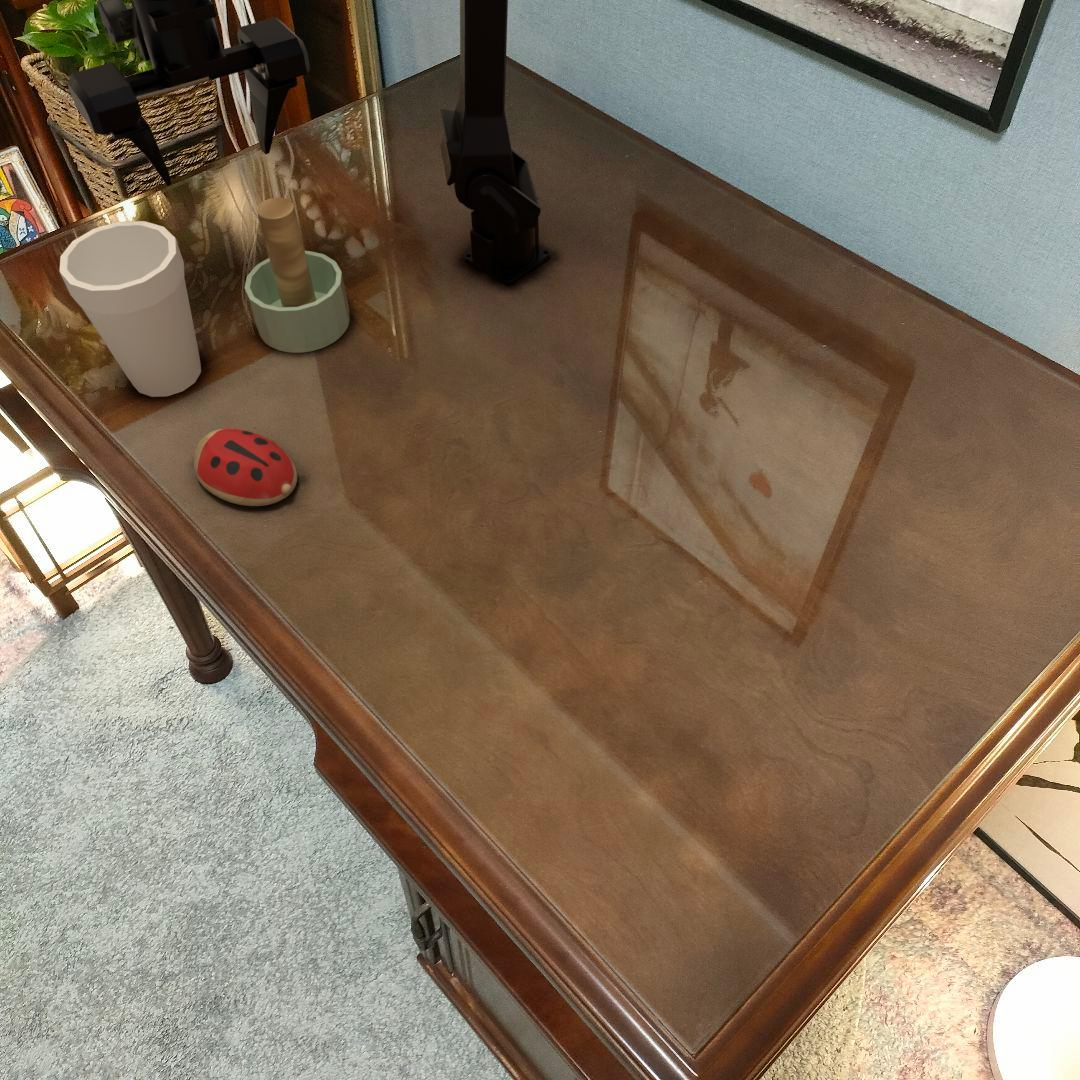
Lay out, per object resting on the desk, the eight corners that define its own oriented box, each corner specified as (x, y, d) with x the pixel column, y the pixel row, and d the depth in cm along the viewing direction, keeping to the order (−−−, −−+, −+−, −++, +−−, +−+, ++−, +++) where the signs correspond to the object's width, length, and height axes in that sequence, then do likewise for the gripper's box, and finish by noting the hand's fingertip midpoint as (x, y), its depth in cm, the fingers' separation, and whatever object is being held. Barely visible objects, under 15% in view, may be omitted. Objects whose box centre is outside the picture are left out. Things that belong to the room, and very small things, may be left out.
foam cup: (192, 415, 90) (145, 297, 80) (96, 402, 92) (38, 284, 81) (233, 345, 96) (194, 226, 86) (142, 333, 97) (93, 215, 87)
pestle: (322, 306, 99) (296, 197, 89) (316, 328, 97) (290, 218, 87) (289, 306, 99) (260, 197, 89) (283, 328, 97) (253, 218, 87)
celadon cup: (310, 281, 102) (300, 239, 98) (368, 319, 98) (360, 276, 94) (239, 325, 98) (225, 282, 94) (297, 366, 94) (286, 323, 90)
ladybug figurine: (229, 432, 89) (218, 402, 86) (320, 472, 86) (312, 442, 83) (177, 482, 85) (164, 453, 83) (270, 526, 82) (260, 497, 80)
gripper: (239, -79, 86) (277, 99, 98) (15, -26, 80) (85, 157, 92) (294, -31, 80) (327, 151, 93) (58, 31, 74) (127, 217, 86)
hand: (217, 167), depth 91 cm, fingers open, 9 cm apart
